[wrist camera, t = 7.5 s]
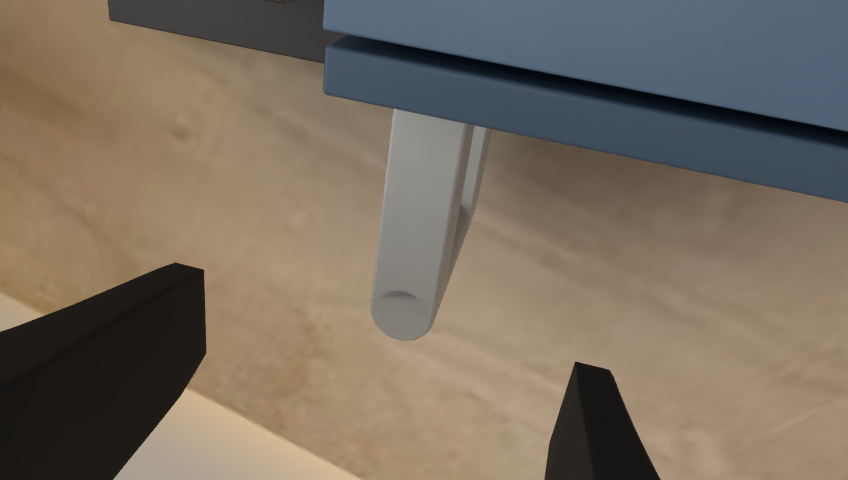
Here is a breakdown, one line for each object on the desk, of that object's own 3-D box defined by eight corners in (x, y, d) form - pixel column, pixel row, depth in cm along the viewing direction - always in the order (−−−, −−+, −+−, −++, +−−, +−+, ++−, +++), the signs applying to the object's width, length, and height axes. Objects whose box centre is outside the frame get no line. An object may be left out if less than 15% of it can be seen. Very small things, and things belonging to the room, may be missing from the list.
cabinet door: (862, 288, 20) (1041, 565, 12) (412, 188, 22) (304, 371, 14) (983, 68, 17) (1340, 245, 9) (443, -28, 18) (323, 44, 10)
